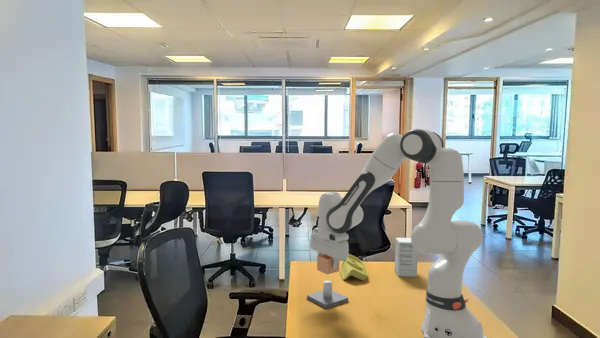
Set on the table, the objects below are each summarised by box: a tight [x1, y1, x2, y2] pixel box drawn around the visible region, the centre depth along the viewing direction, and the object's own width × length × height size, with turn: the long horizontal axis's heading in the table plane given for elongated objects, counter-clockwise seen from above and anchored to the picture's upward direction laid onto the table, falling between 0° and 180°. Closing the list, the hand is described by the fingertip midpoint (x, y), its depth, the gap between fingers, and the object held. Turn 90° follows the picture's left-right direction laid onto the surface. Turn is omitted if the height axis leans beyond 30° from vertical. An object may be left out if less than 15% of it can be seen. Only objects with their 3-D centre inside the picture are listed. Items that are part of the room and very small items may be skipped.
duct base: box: [306, 280, 349, 309], centre depth 172 cm, size 12×12×8 cm
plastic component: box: [339, 253, 369, 282], centre depth 204 cm, size 20×7×10 cm
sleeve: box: [316, 254, 340, 275], centre depth 171 cm, size 6×6×6 cm
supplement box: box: [394, 237, 419, 278], centre depth 205 cm, size 10×9×17 cm
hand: (328, 265), depth 171 cm, fingers closed on sleeve, 6 cm apart
